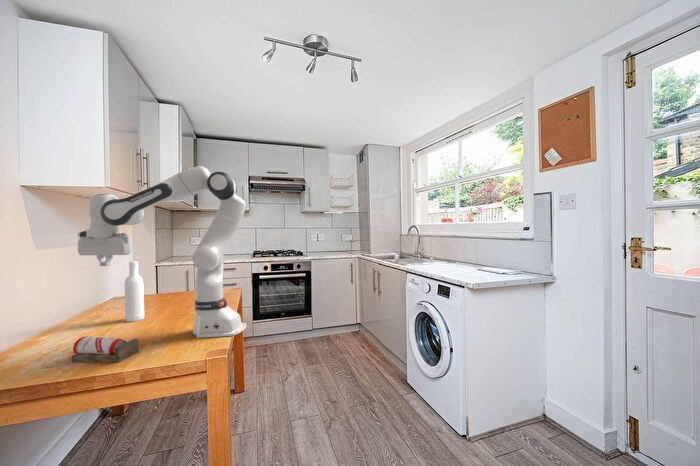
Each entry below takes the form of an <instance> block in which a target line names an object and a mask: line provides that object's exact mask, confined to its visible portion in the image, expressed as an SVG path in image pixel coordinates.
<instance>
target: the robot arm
mask: <svg viewBox="0 0 700 466" xmlns="http://www.w3.org/2000/svg"><path fill="white" fill-rule="evenodd" d="M237 187H238V186H237V185H236V182H235V181H234V179H233V178H232V177H231V175H229V174H228V173H226V172H223V171H214V172H212V173H211V172H210V171H209V169H208V168H206V167H205V166H203V165H197V166H193V167H190V168H187V169H185V170H182V171H180V172H178V173H176V174H174V175H173V176H170V177H169V178H167V179H164V180H163V181H161V182H158V183H157V184H155V185H153V186H151V187H148V188H145V189H144V190H141V191H140V192H139V191H138V192H136V193H134V194H132V195H130V196H128V197H124V198H119V197H118V196H116V195H115V194H111V193H100V194H95V195H93V196H92V197H91V198H90V201H89V211H88V212H89V218H90V223H89V228H87V229H86V230H81V231H79V232H77V237H78V238H79V239H78V240H77V253H78V255H79V256H96V259H97V260H98V262H99V267H110V266H111V262H112V260H113V257H114V256H126V255H130V253H131V244H130V240H129V239H130V238H129V235H128V234H126V233H125V232H119V226H122V225H123V226H134V225H138V224H140V223H142V221H143V220H144V219H145V210H144V209H147V208H149V207H151V206H153V205H155V204H159V203H163V202H170V201H171V202H180V201H183V200H184V201H185V200H186V199H190V198H191V197H193V196H196V195H198V194H199V193H202V192H203V191H209V192H210V193H211V194H212V195H213V196H214V197H216V198H217V199H218V200H219V201H220V205H219V207H218V209H217V211H216V213H215V215H214V217H213V218H212V221H211V223H210V225H209V227H208V228H207V230H206V232H205V234H204V235H203V236H202V238H201V240H200V241H199V244H198V245H197V247H196V248H195V251H194V252H193V255H192V263H193V265H194V266H195V268H196V269H197V270H196V271H197V272H196V280H195V300H194V310H195V319H194V324H193V330H192V334H193V335H194V336H195V337H196V338H197V339H201V338H216V337H217V338H218V337H233V336H236V335H238V334H240V333H242V332H243V331H244V330H245V329H246V328H247V324H246V322H242V318H241V315H240V313H238V312H237V311H236V310H234V309H233V308H231V307H229V306H228V302H229V298H228V299H225V297H224V258H225V257H224V256H225V253H226V252H227V250H228V247H229V246H230V244H231V242H232V240H233V238H234V236H235V234H236V232H237V231H238V228H239V226H240V224H241V222H242V220H243V217H244V215H245V211H246V208H247V207H246V206H247V202H246V201H245V200H244V199H243V198H242V197H241V196H238V195H237V192H238V188H237Z"/></svg>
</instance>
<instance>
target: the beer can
mask: <svg viewBox="0 0 700 466" xmlns="http://www.w3.org/2000/svg"><path fill="white" fill-rule="evenodd" d="M126 342H127V341H126V340H124V339H122V338H119V337H117V338H116V337H103V336H102V337H101V336H87V335H86V336H82V337H80V338H78V339H76V341H75V342H74V344H73V347H72V352H73V353H74V355H75V354H104V355H115V348H116V347H118V346H120V345H122V344H124V343H126Z"/></svg>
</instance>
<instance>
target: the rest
mask: <svg viewBox="0 0 700 466" xmlns="http://www.w3.org/2000/svg"><path fill="white" fill-rule="evenodd" d="M139 342H140V341H139V338H133V339H131V340H129V341H126V343H124V344H122V345H120V346H118V347H116V348H115V355H104V354H75V353H74V354H72V355H71V356H70V357H71V362H73V363H76V362H77V363H78V362H79V363H81V362H82V363H120V362H123V361H124V360H126V359H129V357H132V356H133V355H135V354H137V353H138V352H139V350H140V348H139V345H140V344H139Z"/></svg>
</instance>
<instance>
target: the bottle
mask: <svg viewBox="0 0 700 466" xmlns="http://www.w3.org/2000/svg"><path fill="white" fill-rule="evenodd" d="M128 269H129V275H128V276H127V277H126V278H125V281H124V282H123V283H124V312H125V313H124V314H125V315H124V319H125V320H124V321H125V322H127V323H133V322H139V321H143V320H144V319H145V313H146V312H145V291H144V289H145V288H144V286H145V285H144V279H143V277H142V276H141V275H140V274H139V261H137V260H132V261H129V263H128Z"/></svg>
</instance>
